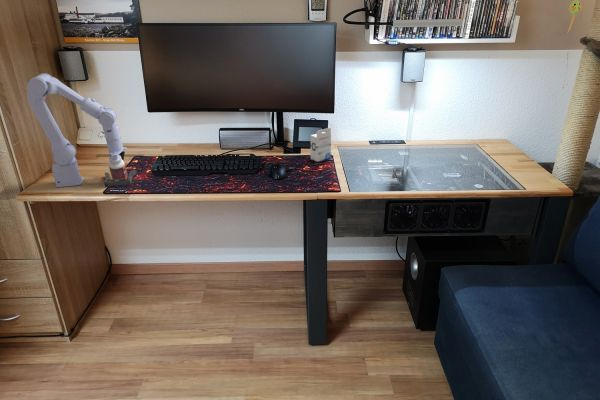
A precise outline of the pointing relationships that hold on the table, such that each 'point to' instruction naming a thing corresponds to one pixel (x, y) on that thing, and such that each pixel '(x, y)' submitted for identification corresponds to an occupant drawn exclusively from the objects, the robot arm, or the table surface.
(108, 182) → the mount cradle
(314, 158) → the ink box
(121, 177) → the pill bottle
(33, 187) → the table surface
